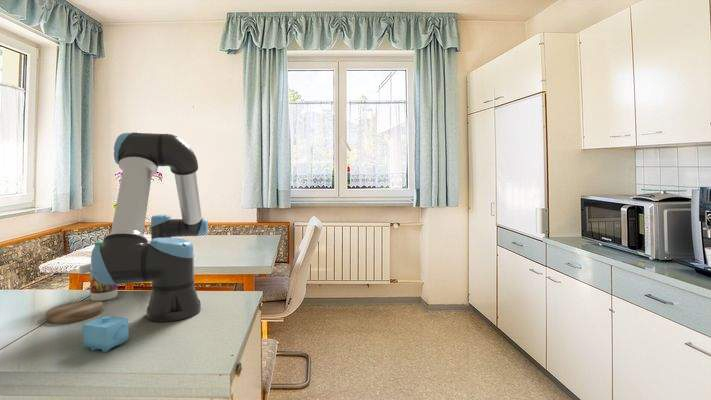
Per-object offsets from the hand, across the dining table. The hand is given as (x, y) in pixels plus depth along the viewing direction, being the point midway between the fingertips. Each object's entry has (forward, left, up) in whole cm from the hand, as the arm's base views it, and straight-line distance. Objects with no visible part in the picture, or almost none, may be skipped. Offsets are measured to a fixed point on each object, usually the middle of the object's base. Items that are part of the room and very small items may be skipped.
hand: (90, 270), depth 119 cm
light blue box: (-36, +22, -11) cm, 43 cm away
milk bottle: (0, -5, -11) cm, 12 cm away
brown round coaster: (-6, +9, -11) cm, 15 cm away
